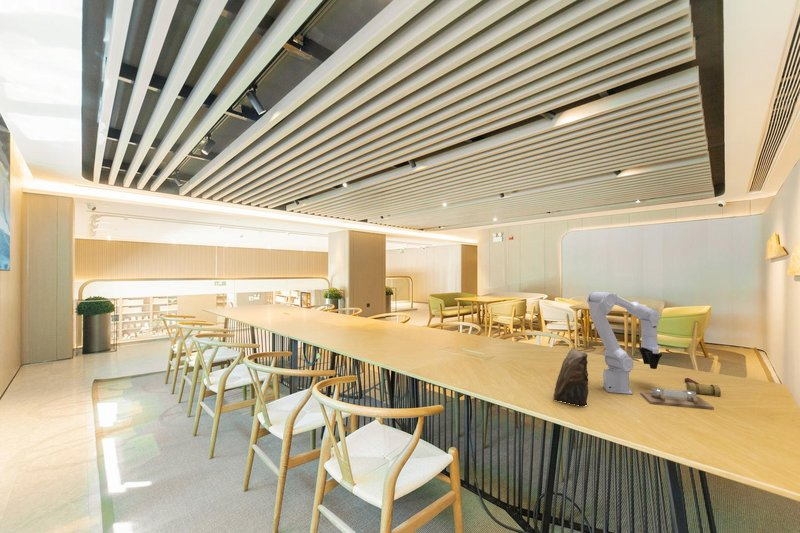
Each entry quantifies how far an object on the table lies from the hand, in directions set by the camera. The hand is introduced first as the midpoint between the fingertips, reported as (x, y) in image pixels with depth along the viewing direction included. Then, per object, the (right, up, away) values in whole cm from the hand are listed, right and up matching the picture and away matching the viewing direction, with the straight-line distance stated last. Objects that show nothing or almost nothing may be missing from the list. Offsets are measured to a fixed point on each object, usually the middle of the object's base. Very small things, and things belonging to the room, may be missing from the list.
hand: (650, 366), depth 151 cm
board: (-2, -9, -16) cm, 19 cm away
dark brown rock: (-42, -10, -13) cm, 45 cm away
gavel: (+19, -10, -1) cm, 21 cm away
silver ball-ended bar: (-2, -8, -16) cm, 18 cm away
